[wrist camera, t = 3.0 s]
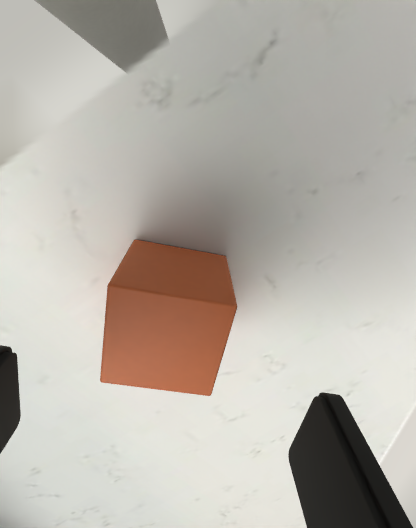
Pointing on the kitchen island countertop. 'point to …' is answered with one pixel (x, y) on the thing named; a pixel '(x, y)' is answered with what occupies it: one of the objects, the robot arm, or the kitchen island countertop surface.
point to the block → (167, 319)
